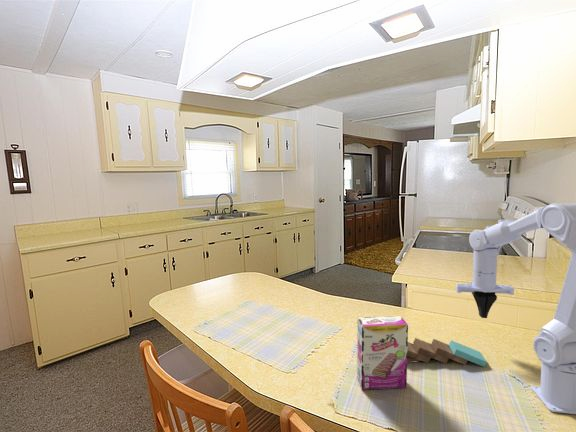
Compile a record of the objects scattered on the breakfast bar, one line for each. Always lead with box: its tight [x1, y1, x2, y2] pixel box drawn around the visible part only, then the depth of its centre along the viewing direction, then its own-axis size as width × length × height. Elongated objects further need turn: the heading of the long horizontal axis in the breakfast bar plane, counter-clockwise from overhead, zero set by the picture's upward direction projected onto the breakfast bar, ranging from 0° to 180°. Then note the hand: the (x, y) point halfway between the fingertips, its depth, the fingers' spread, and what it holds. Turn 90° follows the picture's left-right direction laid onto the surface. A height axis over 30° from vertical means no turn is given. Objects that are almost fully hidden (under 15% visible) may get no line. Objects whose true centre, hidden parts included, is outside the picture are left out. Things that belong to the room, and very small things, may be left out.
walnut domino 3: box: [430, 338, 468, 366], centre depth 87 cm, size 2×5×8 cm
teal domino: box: [448, 339, 488, 368], centre depth 86 cm, size 2×5×8 cm
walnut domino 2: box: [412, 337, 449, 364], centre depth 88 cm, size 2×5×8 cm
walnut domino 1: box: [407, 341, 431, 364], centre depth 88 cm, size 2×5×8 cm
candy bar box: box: [356, 315, 409, 391], centre depth 77 cm, size 11×5×16 cm, turn 92°
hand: (482, 316), depth 91 cm, fingers closed
